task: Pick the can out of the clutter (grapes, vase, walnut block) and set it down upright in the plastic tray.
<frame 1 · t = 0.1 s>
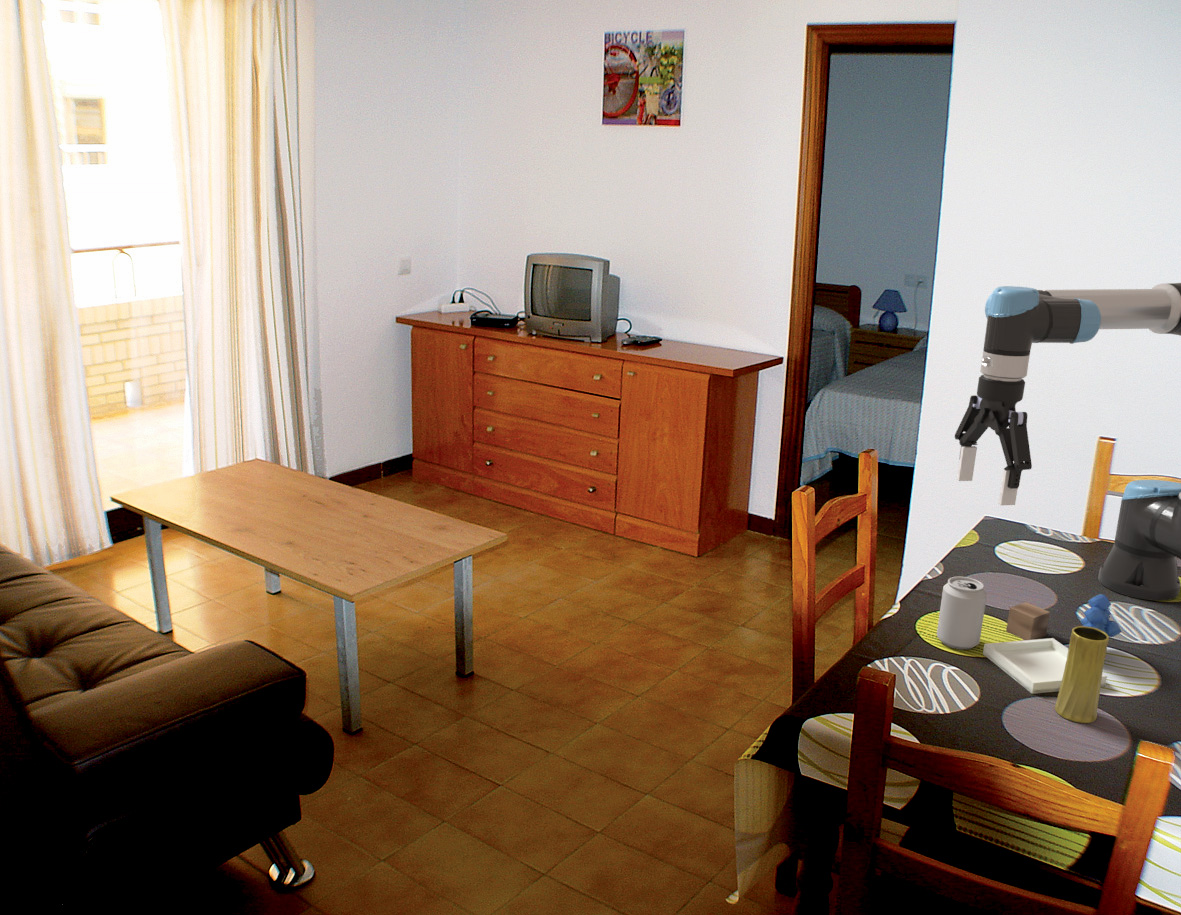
hand: (984, 492, 176), 28 cm above the table, fingers open, 13 cm apart
tray: (1042, 669, 170), on the table
vase: (1075, 714, 157), on the table
walnut block: (1025, 634, 184), on the table
can: (957, 643, 180), on the table
grapes: (1094, 656, 176), on the table
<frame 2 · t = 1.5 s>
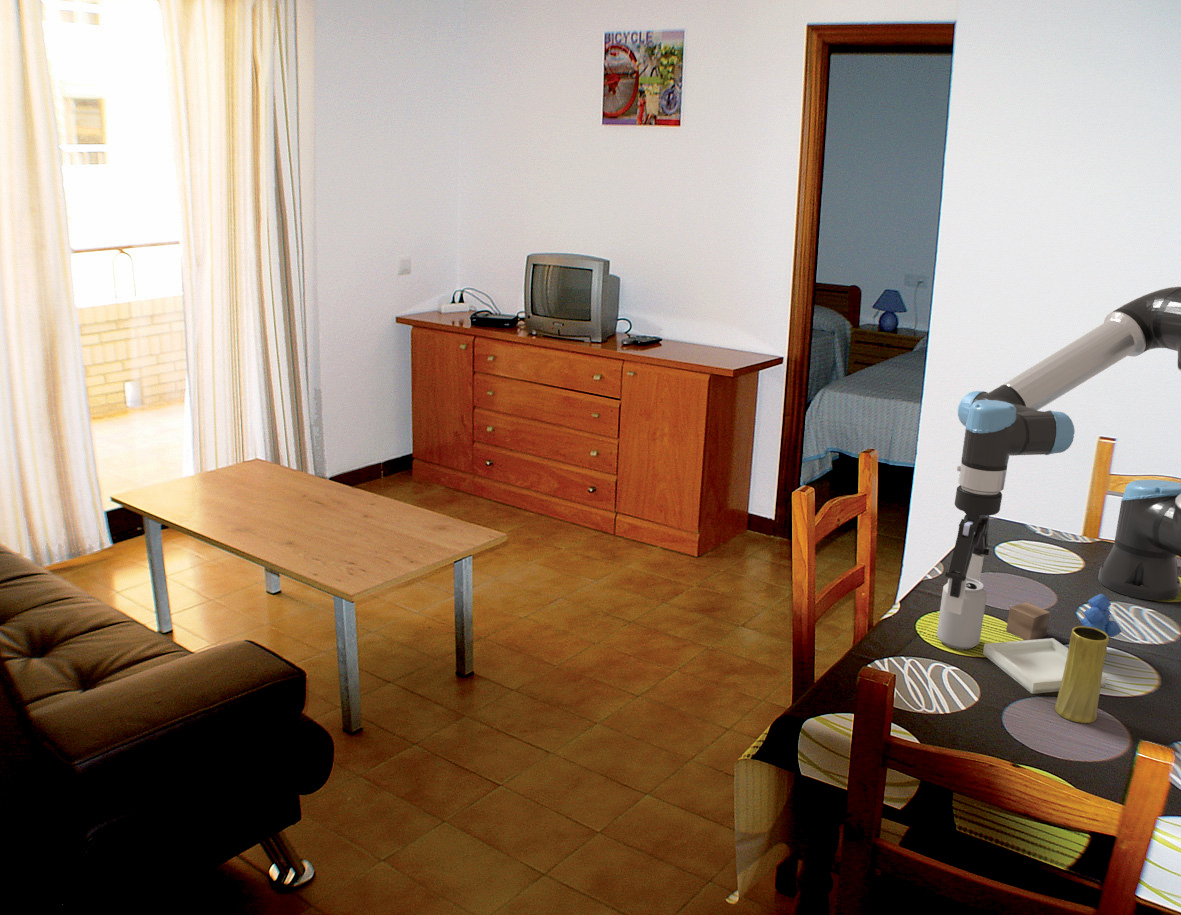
hand: (962, 599, 177), 9 cm above the table, fingers open, 13 cm apart
nothing on the table moved.
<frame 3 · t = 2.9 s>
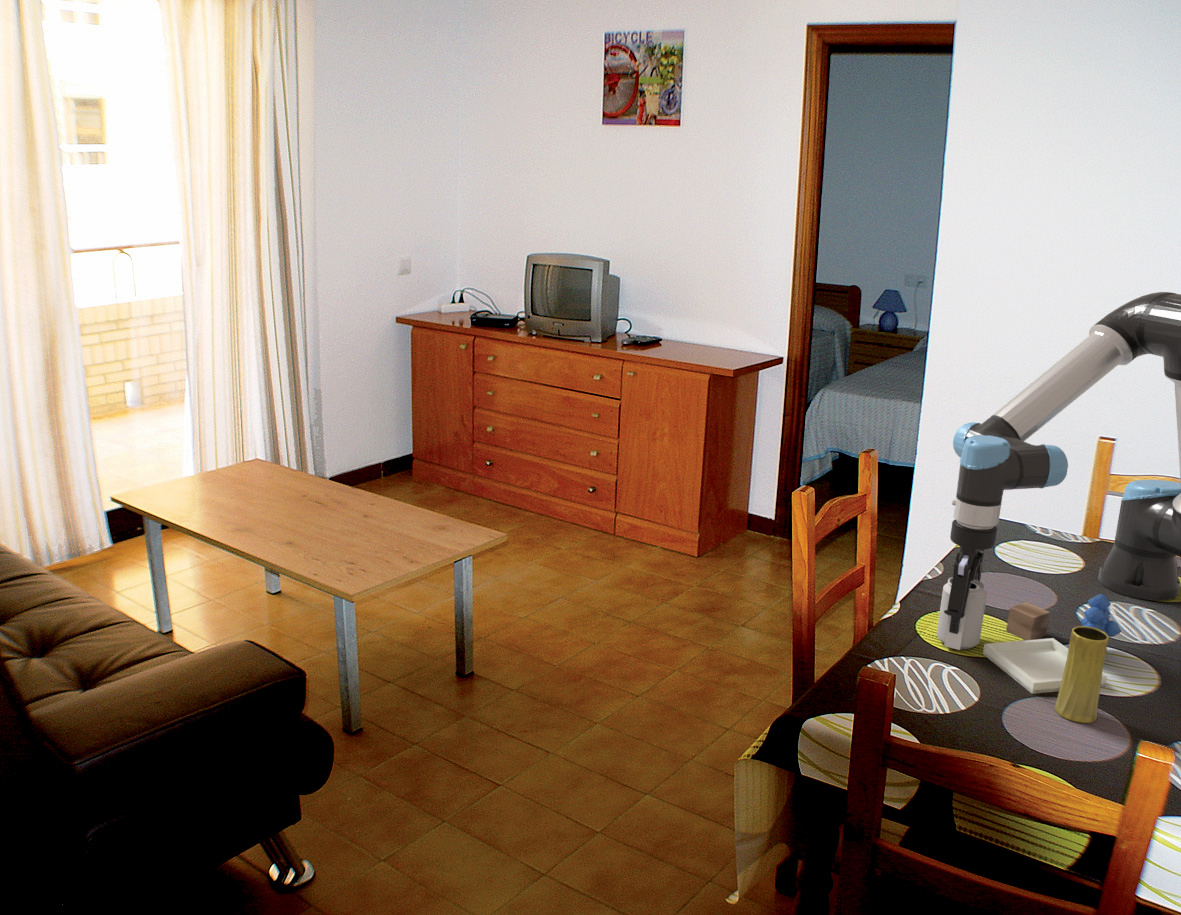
hand: (957, 638, 180), 1 cm above the table, fingers closed on can, 7 cm apart
can: (957, 642, 180), on the table, touching gripper
everything else where it was.
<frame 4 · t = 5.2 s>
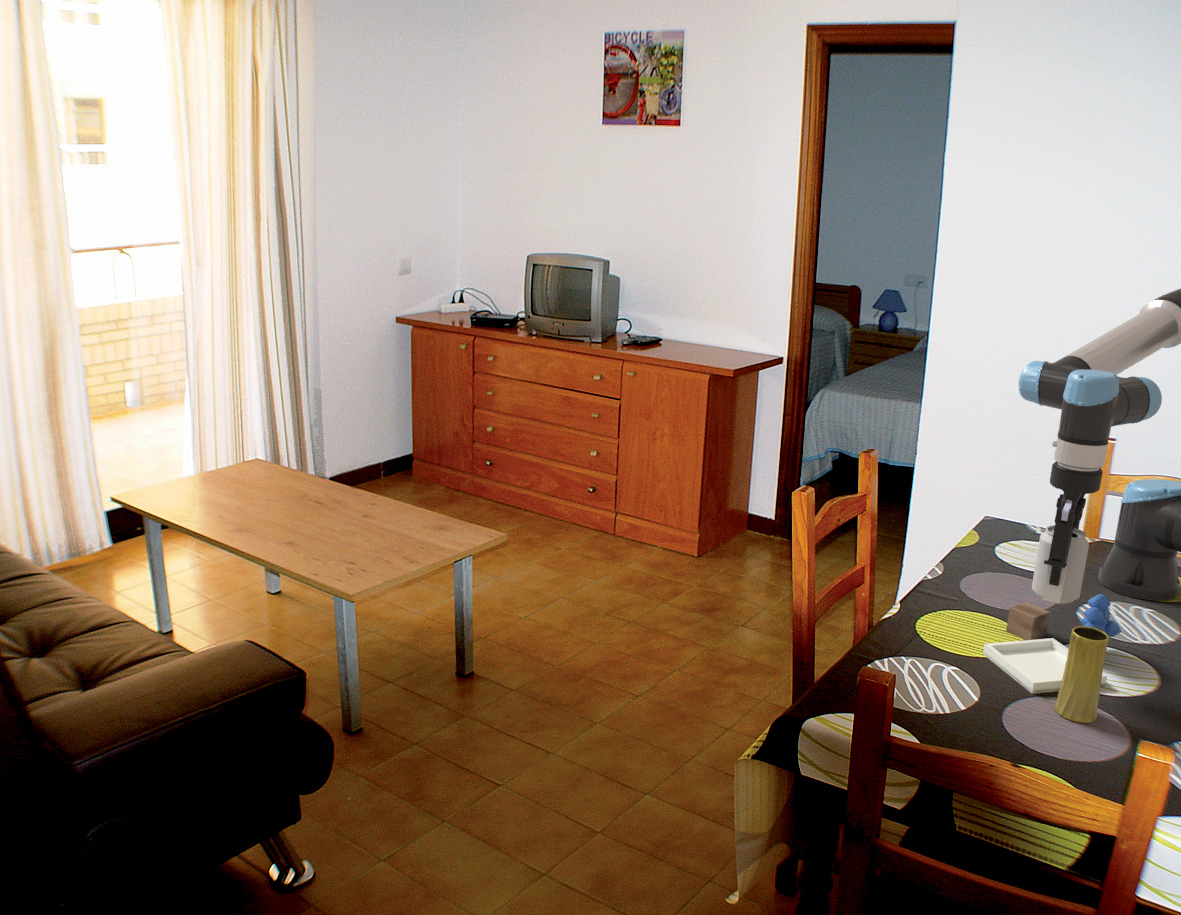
hand: (1055, 592, 166), 15 cm above the table, fingers closed on can, 7 cm apart
can: (1054, 597, 166), point 14 cm above the table, touching gripper
everything else where it was.
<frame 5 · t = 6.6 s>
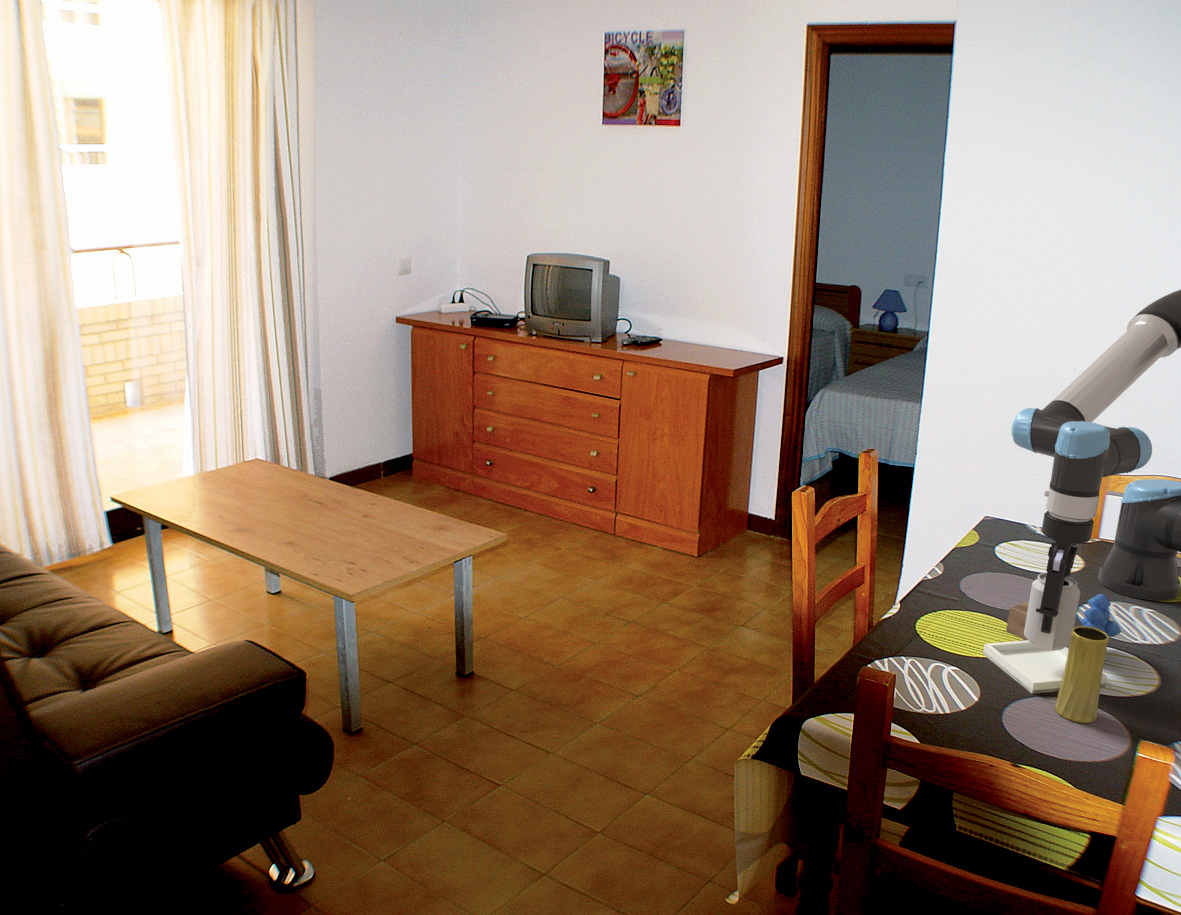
hand: (1047, 638, 169), 6 cm above the table, fingers closed on can, 7 cm apart
can: (1046, 643, 169), point 5 cm above the table, touching gripper
everything else where it was.
when the fingers open (3 cm above the table, at t = 7.6 s): can drops 2 cm, resting on tray.
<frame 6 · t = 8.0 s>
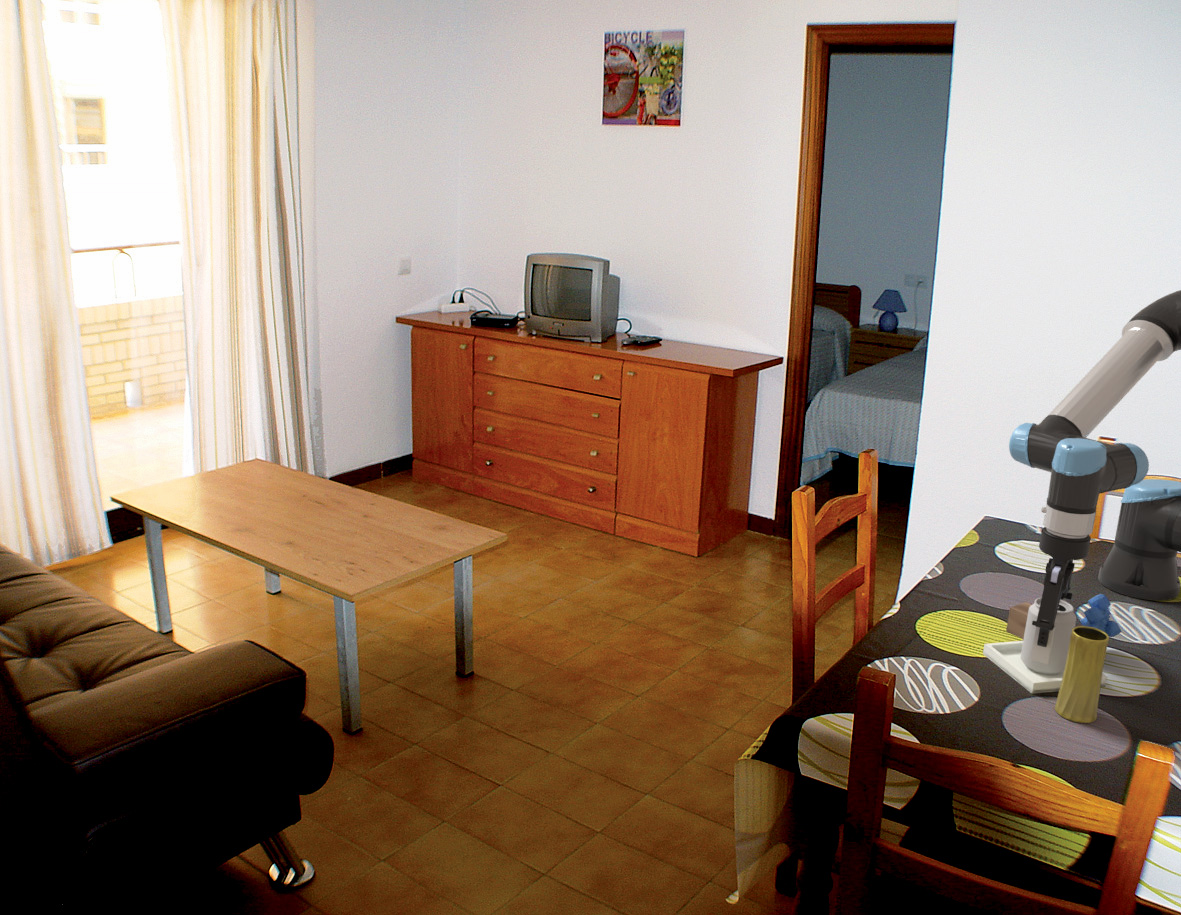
hand: (1046, 646, 169), 5 cm above the table, fingers open, 12 cm apart
can: (1042, 667, 170), resting on tray
everything else where it was.
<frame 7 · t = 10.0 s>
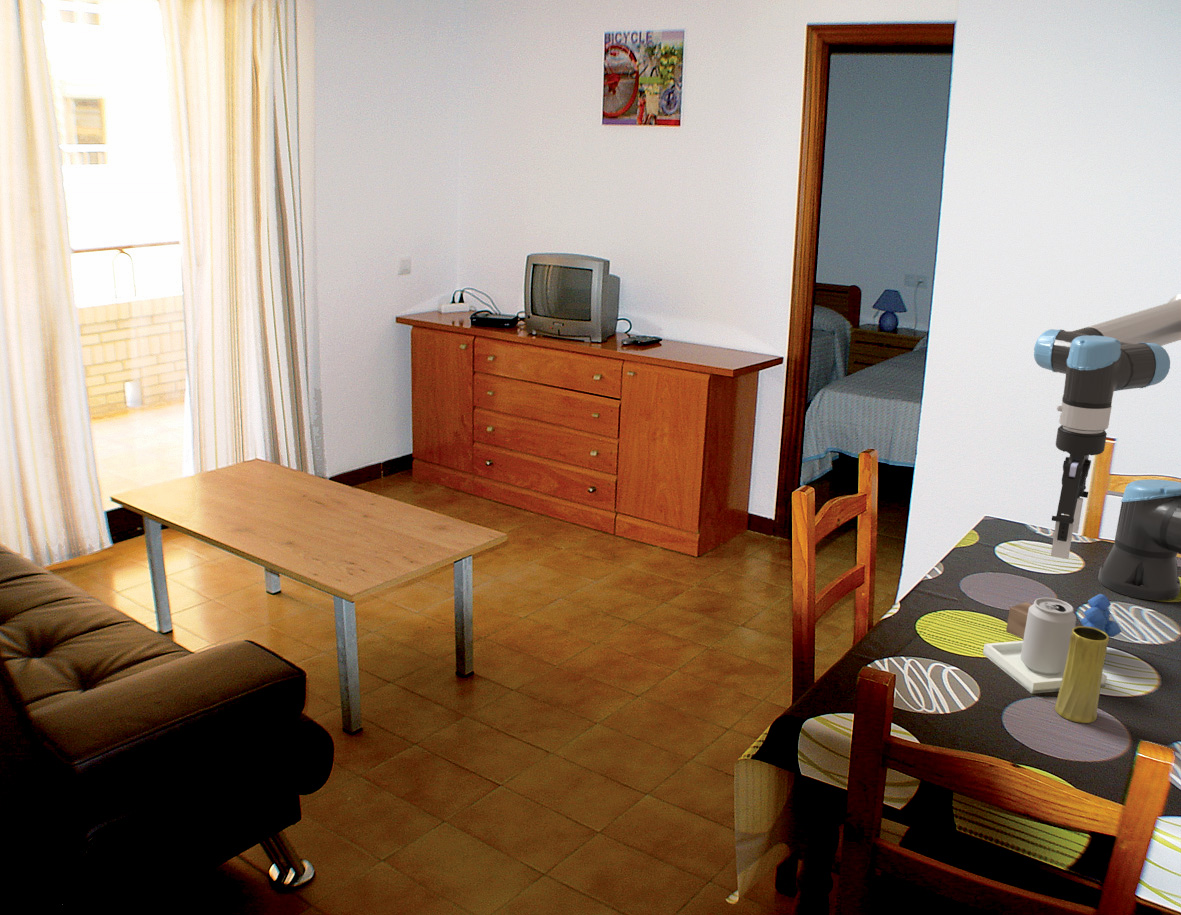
hand: (1064, 543, 172), 21 cm above the table, fingers open, 13 cm apart
nothing on the table moved.
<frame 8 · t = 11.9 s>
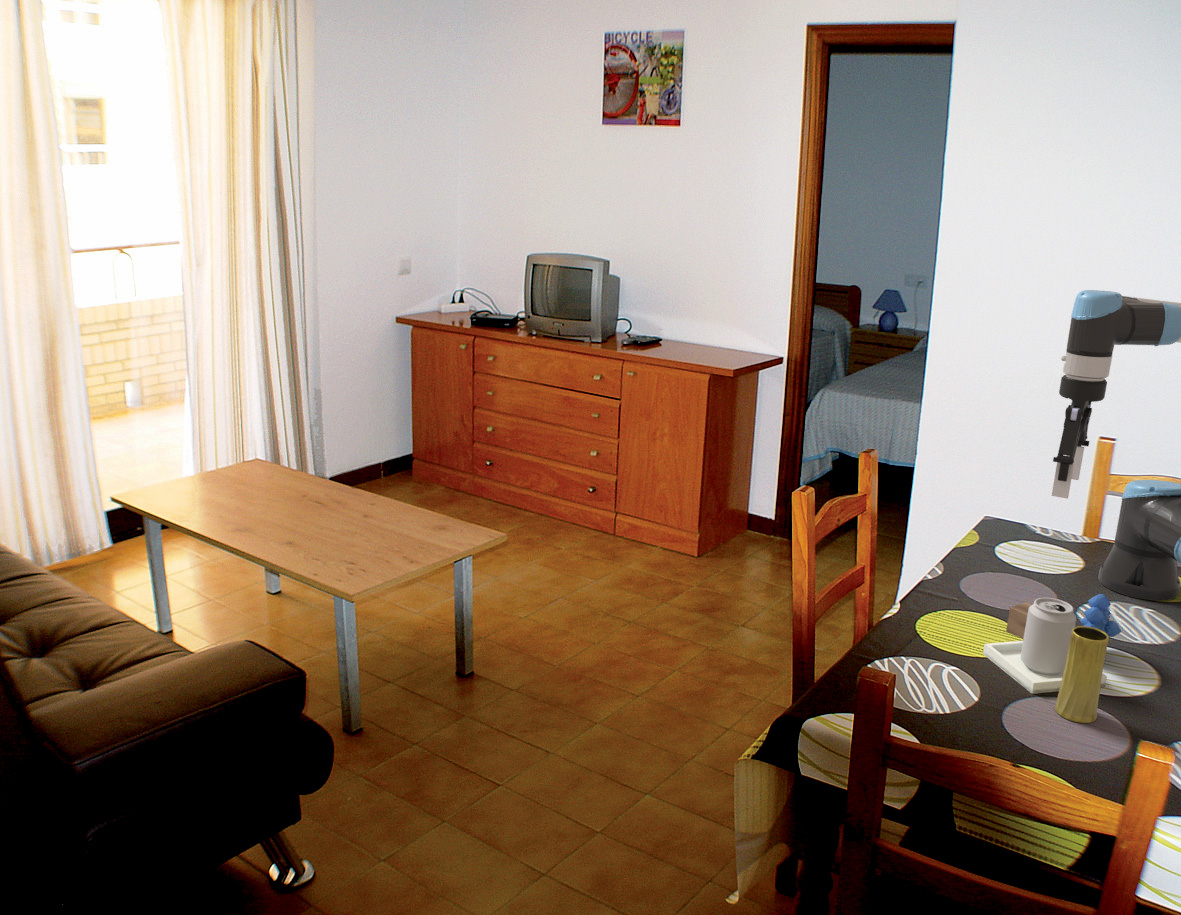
hand: (1065, 487, 183), 27 cm above the table, fingers open, 13 cm apart
nothing on the table moved.
at the end: can inside the target area on the tray (0.0 cm from its centre), point 0.4 cm above the tray's base; can tilted 0°; the gripper is holding nothing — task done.
